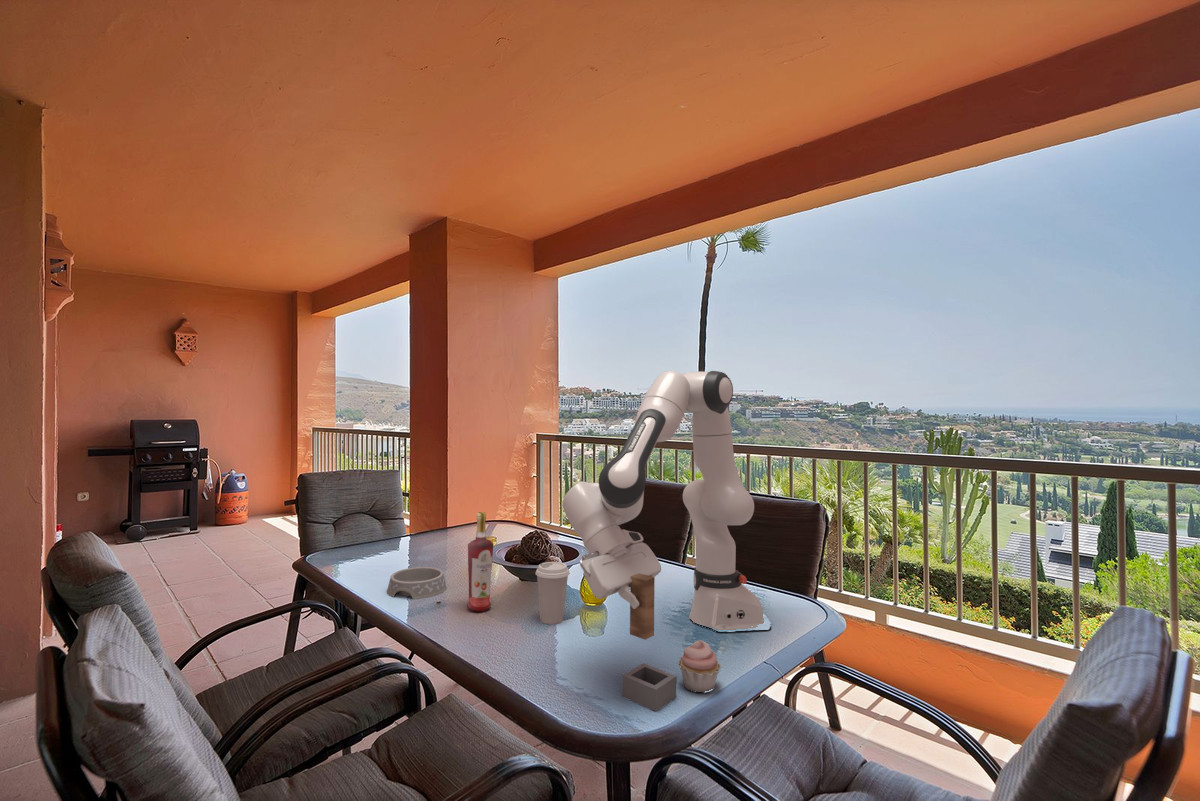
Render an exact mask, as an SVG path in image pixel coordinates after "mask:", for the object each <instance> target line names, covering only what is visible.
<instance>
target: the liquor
mask: <svg viewBox="0 0 1200 801" xmlns="http://www.w3.org/2000/svg"><path fill="white" fill-rule="evenodd" d="M486 520H487V512H484V511H480V512H479V511H478V512H477V513H476V523H477V524H476V525H477V526H476V532H475V533H476V534H475V538H474V539H473V540H471V541H470V542H469V543H467V565H468V566H467V567H468V568H467V570H468V602H467V608H468V609H469V610H470V611H471V612H474V611H475V613H482V612H485V611H487V610H488V609H489V608H490V607H491V605H492V603H491V598H490V597H491V584H492V583H491V580H492V569H493V559H494V558H493V557H494V543H493V542H492V541H491V540H489V539H487V531H486V530H487V529H486ZM481 611H482V612H481Z"/></svg>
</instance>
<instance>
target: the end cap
mask: <svg viewBox="0 0 1200 801" xmlns="http://www.w3.org/2000/svg"><path fill="white" fill-rule="evenodd" d="M621 678H622V679H621V680H622V682H621V687H622V688H621V697H623V698H625V699H626V700H629V701H631V702H634V703H636V704H638V705H640V706H643V707H644V708H647V709H649V710H651V711H653V712H655V713H657V712H658V711H659V710H660V709H662V708H663V707H665V706H667V705H668V704H669V703H671V700H672V701H673V700H674V699H676V698H677V682H678V680H677V679H678V678H677V675H675V674H673V673H670V672H667V671H665V670H662V669H660V668H657V667H654V666H652V665H649V664H647V663H644V662H643V663H642V664H640V665H638V666H636V667H634V668H632V669H631V670H629V671H627V672H626V673H624V674H622V677H621ZM675 697H676V698H675ZM664 705H665V706H664Z"/></svg>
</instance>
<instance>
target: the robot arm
mask: <svg viewBox="0 0 1200 801" xmlns="http://www.w3.org/2000/svg"><path fill="white" fill-rule="evenodd" d="M733 395H734V387H733V383H732V380H731V378H730V377H729V376H728V375H727V374H726V373H725V372H723V371H719V370H718V371H717V370H710V371H704V370H702V371H690V372H685V373H680V372H678V371H676V370H675V371H673V370H668V371H664V372H662V373H660V374H659V375H657V377H656V378H655V379H654V380H653V382H652V384H651V385H650V387H649V389H648V390H647V391H646V394H645V395H644V397H643V399H642V400H641V403H640V406H639V408H638V410H637V413H636V417H635V423H634V425H633V427H632V429H631V431H630V432H629V435H628V437H627V438H626V440H625V443H624V444H623V446H622V448H621V450H620V451H619V452H618V454H617V455H616V456H615V457H614V458H612V459H611V460H610V461H609V462H608V463H606V464H605V466H604V467H603V468H602V469H601V471H600V473H599V476H598V482H586V481H579V482H577V483H575V484H573V485H572V486H571V487H570V488H569V489H568V490H567V491H566V493H565V495H564V496H563V499H562V508H563V512H564V513H565V517H566V518H567V520H568V522H569V524H570V526H571V527H572V528H573V530H574V532H575V533H576V534H577V535H578V536H579V537H580V538H581V540H582V543H583V547H584V548H585V550H586V551H587V554H584V555H582V556H581V559H580V560H579V565H580V568H581V569H582V571H583V574H584V578H585V580H586V583H587V584H588V587H589V589H590V591H591V593H592V594H593V596H594V597H595V598H597V599H599V600H602V599H605V598H608V597H610V596H611V595H615V594H616V593H618V595H619V596H620V597H621V598H622V599H623V600H625V601H626V602H627V603H629V604H630V605H631V606H632V608H633V609H636V608H638V607H639V606H640V605H642V601H641V600H640V598H639V597H638V596H634V595H633V594H632V593H631V592H630V583H631V582H632V579H631V577H630V576H633V575H636V574H638V573H640V574H644V575H648V576H652V577H655V578H656V576H658V575H659V574H660V573H661V572H662V564H661V563H660V561H659V559H658V558H657V556H656V555H655V552H653V551H652V548H650V546H649V545H648V544H647V543H645V542H643V541H644V536H643V535H642V534H641V533H640V532H638V531H637V532H636V531H630V530H626V529H622V528H621V527H620V526H622V525H624V524H627V523H629V522H631V521H633V520H635V519H636V518H637V517H638V516H639V515H640V514H641V512H642V509H643V506H644V496H645V495H644V494H645V487H646V484H647V483H646V481H647V480H646V466H647V464H648V461H649V460H650V458H651V455H652V453H653V451H654V449H655V447H656V445H657V443H662V442H668V441H669V440H672V438H673V437H674V435H675V433H676V432H677V430H678V429H679V427H680V425H681V423H682V421H683V419H684V416H685V414H692V422H691V423H692V424H691V425H692V427H691V428H692V430H691V431H692V446H693V449H692V450H693V462H694V463H695V465H696V467H697V468H698V470H699V471H700V473H701V475H702V478H703V479H696V480H692V481H690V482H689V483H688V484H687V485H686V486H685V487H684V489H683V492H682V501H683V504H684V506H685V508H686V509H687V511H688V514H689V516H690V519H691V520H690V521H691V524H692V529H693V533H694V538H695V539H694V540H695V567H694V570H693V588H694V592H693V599H692V605H691V609H690V613H689V615H688V618H689V620H690V619H691V620H692V621H693V622H692V621H691V620H690V621H691V622H692V623H694V622H695V623H697V624H700V625H704V626H708V627H711V628H714V629H716V630H736V629H748V628H756V627H758V626H757V625H759V624H763V623H764V618H763V613H764V611H763V610H764V609H763V606H762V604H761V601H760V599H759V598H758V597H757V595H755V594H754V593H753V592H752V591H751V590H749V589H748V588H747V587H746V586H745V584H746V583H747V582H748V580H747V579H748V578H747V577H746V575H743V574H742V573H741V572H739V570H736V558H737V557H736V556H737V555H736V552H737V551H736V549H737V547H736V546H737V545H736V541H735V540H734V538H733V536H732V535H731V533H730V530H729V528H728V527H729V526H743V525H745V524H747V523H748V522H749V521H750V520H751V519H752V517H753V515H754V512H755V502H754V499H753V496H752V495H751V494H750V493H749V492H748V490H747V489H746V488H745V486H744V484H743V481H742V479H741V477H740V474H739V471H738V468H737V466H736V460H735V454H734V444H733V443H734V442H733V431H732V428H733V427H732V423H731V422H732V421H731V416H730V411H729V408H728V407H729V406H730V404H731V402H732V400H733V397H734V396H733ZM654 599H655V596H654ZM630 605H629V606H630ZM695 623H694V624H695ZM697 624H696V625H697ZM700 625H699V626H700ZM751 626H753V627H751Z"/></svg>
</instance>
